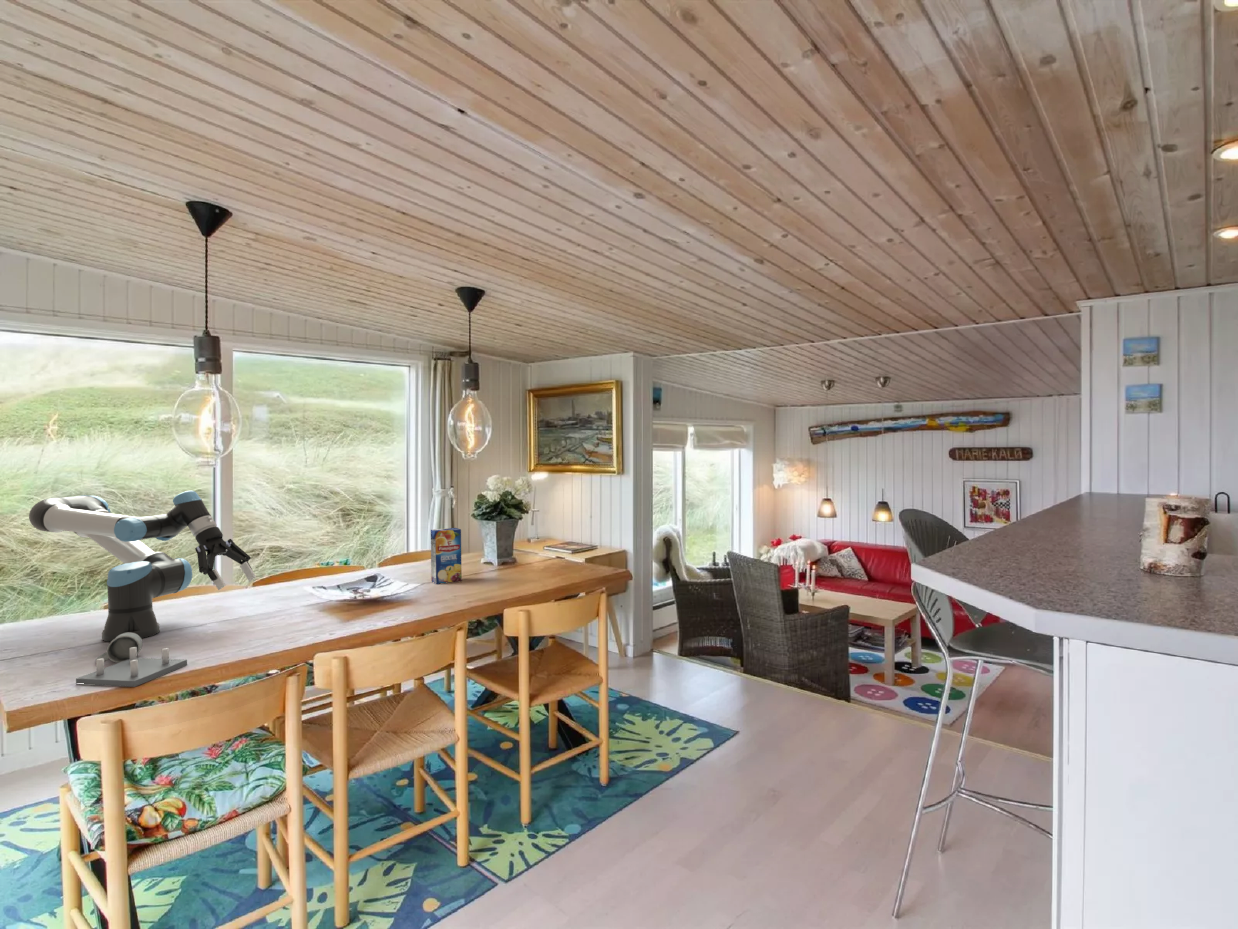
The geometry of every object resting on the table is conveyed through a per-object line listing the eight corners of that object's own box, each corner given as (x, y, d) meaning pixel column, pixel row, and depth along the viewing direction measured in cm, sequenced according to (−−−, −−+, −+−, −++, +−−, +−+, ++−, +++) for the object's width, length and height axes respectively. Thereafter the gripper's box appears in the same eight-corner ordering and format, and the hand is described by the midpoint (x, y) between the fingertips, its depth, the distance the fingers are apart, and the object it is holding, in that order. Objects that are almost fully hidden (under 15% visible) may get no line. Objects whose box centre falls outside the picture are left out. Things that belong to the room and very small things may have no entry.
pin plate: (76, 684, 167) (75, 663, 167) (133, 662, 184) (132, 643, 184) (134, 686, 165) (134, 665, 165) (187, 664, 182) (186, 645, 182)
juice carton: (456, 578, 303) (455, 527, 302) (461, 581, 296) (461, 529, 296) (431, 581, 296) (430, 529, 296) (435, 584, 290) (435, 531, 289)
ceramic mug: (143, 653, 193) (142, 627, 193) (140, 660, 186) (138, 634, 186) (98, 659, 188) (97, 633, 187) (93, 667, 180) (92, 640, 180)
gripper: (182, 530, 208) (216, 585, 207) (241, 521, 233) (271, 570, 231) (166, 543, 210) (200, 597, 208) (226, 532, 234) (257, 581, 233)
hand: (238, 583), depth 220 cm, fingers open, 13 cm apart
